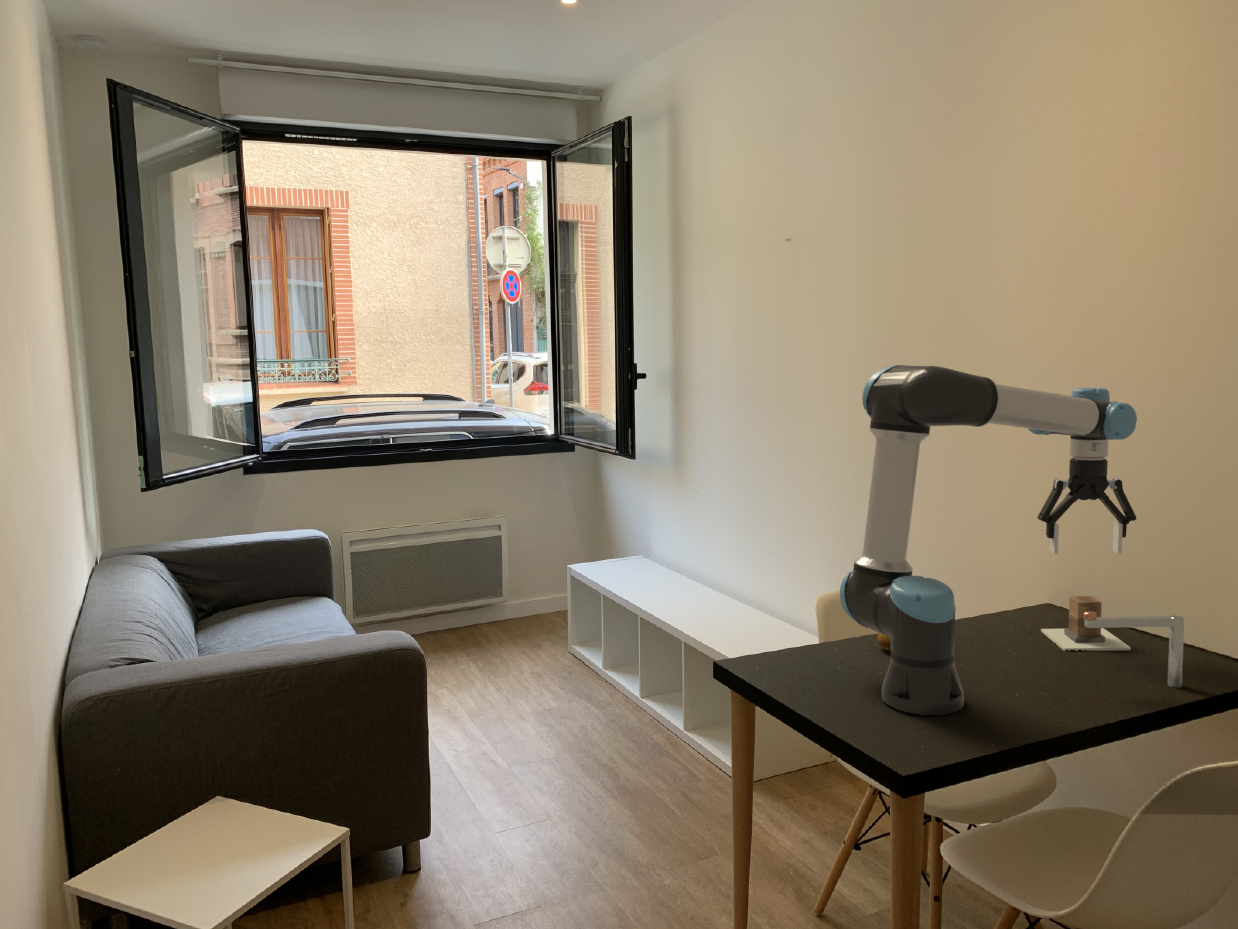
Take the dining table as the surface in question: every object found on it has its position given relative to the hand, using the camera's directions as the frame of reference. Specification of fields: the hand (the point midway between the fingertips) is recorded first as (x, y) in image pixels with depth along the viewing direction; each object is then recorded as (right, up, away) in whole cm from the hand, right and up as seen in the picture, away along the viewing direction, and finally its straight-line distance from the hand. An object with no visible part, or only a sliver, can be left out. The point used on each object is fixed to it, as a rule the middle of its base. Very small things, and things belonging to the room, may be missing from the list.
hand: (1085, 552), depth 208 cm
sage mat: (+1, -20, +3) cm, 21 cm away
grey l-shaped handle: (-3, -24, -25) cm, 35 cm away
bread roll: (-40, -23, 0) cm, 46 cm away
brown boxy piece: (+1, -20, +3) cm, 20 cm away
